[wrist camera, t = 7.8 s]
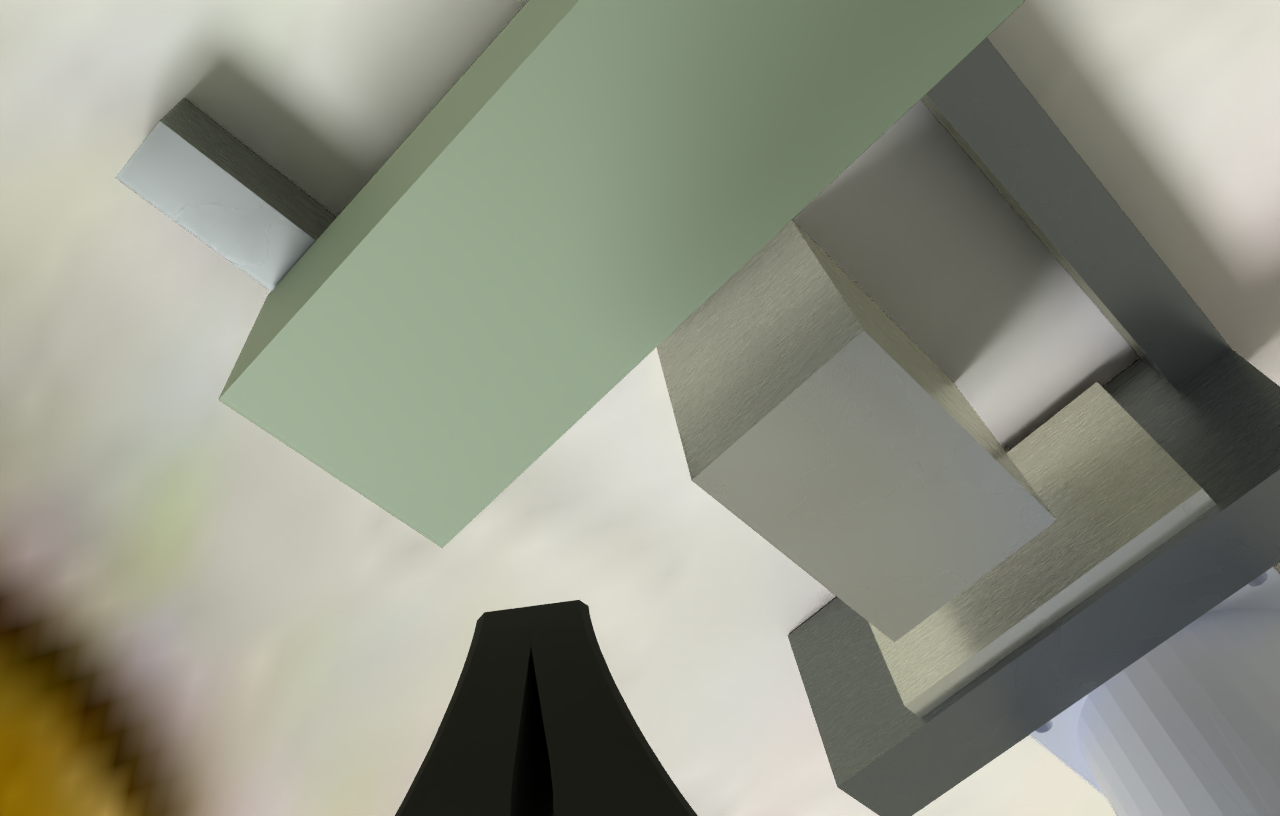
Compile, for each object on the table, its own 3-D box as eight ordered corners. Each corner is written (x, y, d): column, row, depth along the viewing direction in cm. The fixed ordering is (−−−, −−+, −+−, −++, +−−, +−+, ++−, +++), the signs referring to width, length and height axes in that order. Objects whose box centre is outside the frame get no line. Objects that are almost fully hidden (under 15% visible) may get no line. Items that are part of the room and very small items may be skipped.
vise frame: (1235, 373, 26) (1382, 491, 21) (838, 674, 29) (895, 826, 25) (598, -428, 17) (628, -502, 12) (141, 151, 20) (43, 249, 16)
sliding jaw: (912, -38, 20) (1037, 16, 15) (466, 404, 23) (455, 556, 19) (740, -255, 18) (822, -269, 13) (281, 266, 21) (218, 399, 17)
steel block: (953, 382, 25) (1056, 520, 20) (825, 488, 26) (894, 642, 21) (788, 216, 23) (863, 330, 18) (655, 341, 24) (691, 481, 19)
